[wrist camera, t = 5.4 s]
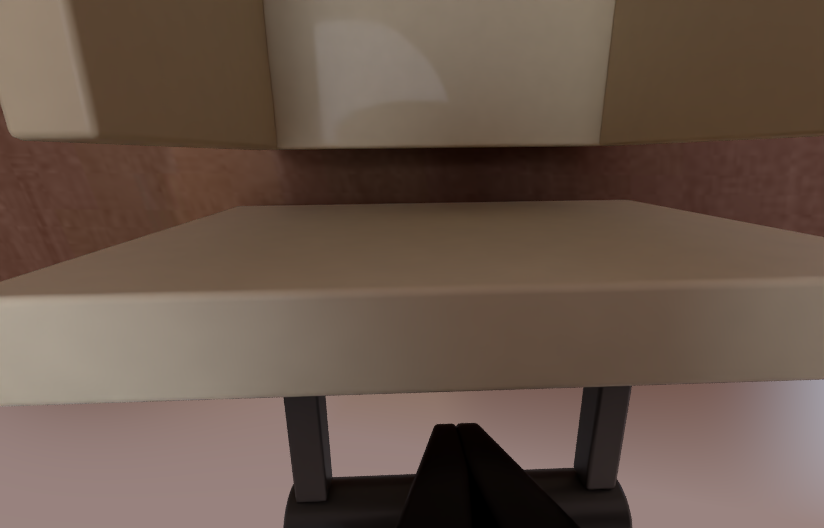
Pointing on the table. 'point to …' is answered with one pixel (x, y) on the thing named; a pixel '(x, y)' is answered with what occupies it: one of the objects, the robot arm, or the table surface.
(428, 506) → the robot arm
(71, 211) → the table surface
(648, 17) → the drawer
